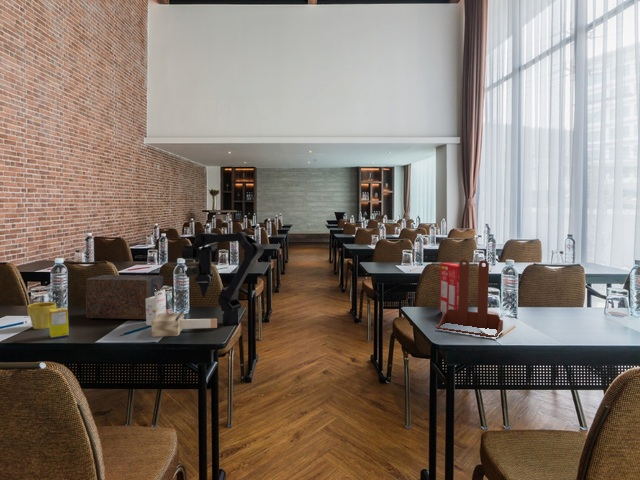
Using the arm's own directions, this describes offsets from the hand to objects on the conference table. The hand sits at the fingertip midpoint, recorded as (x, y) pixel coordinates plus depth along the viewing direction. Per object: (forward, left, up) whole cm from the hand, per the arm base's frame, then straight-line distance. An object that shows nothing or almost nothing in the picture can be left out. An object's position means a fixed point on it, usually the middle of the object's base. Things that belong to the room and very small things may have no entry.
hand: (205, 294), depth 195 cm
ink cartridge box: (+21, +1, -12) cm, 24 cm away
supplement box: (+54, +18, -12) cm, 58 cm away
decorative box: (+38, -14, -12) cm, 42 cm away
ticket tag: (+2, +16, -11) cm, 19 cm away
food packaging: (-117, +4, -12) cm, 118 cm away
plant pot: (+67, +2, -12) cm, 68 cm away
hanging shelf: (-111, +32, -12) cm, 116 cm away
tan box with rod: (+13, +16, -12) cm, 24 cm away
